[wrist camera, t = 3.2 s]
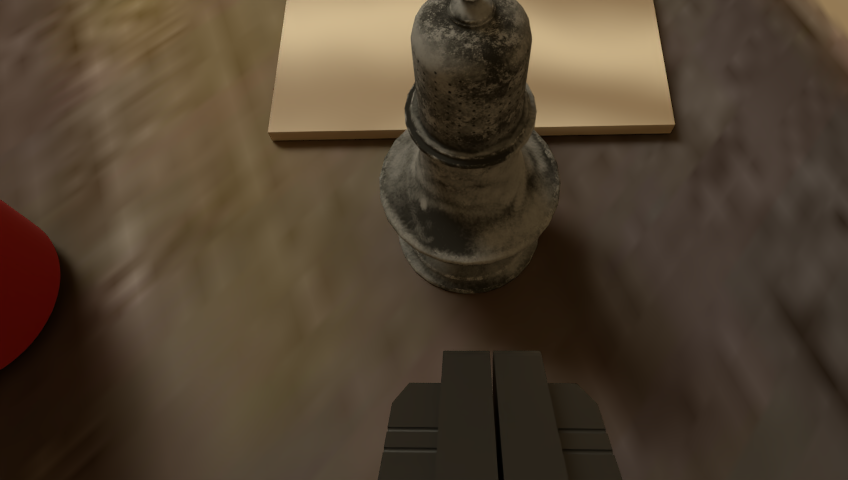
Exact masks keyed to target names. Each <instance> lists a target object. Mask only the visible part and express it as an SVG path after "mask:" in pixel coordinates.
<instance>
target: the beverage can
mask: <svg viewBox="0 0 848 480" xmlns="http://www.w3.org/2000/svg"><path fill="white" fill-rule="evenodd" d="M59 286H60V264H59V259H58V255H57V252H56V250H55V248H54V246H53V244H52V242H51V240H50V239H49V237H48V236H47V235H46V234H45V233H44V232H43V231H42V230H41V229H40V228H39V227H38V226H36V225H35V224H33V223H32V222H31V221H29V220H28V219H26V218H25V217H24V216H22V215H21V214H20V213H18V212H17V211H15V210H14V209H13V208H11V207H10V206H9V205H7V204H6V203H4V202H3V201H2V200H0V370H1V369H2V368H4V367H6V366H7V365H8V364H10V363H11V362H12V361H14V360H15V359H16V358H17V357H18V356H19V355H21V354H22V353H23V352H24V351H25V350H26V349H27V348H28V347H29V345H30V344H31V343H32V342H33V341H34V340H35V338H36V337H37V336H38V335H39V333H40V332H41V330H42V329H43V327H44V326H45V324H46V322H47V321H48V319H49V317H50V315H51V313H52V310H53V308H54V305H55V302H56V299H57V296H58V292H59Z"/></svg>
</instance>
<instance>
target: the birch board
mask: <svg viewBox="0 0 848 480" xmlns="http://www.w3.org/2000/svg"><path fill="white" fill-rule="evenodd" d="M426 1H427V0H287V2H286V9H285V16H284V23H283V30H282V37H281V44H280V51H279V58H278V65H277V72H276V79H275V86H274V93H273V100H272V107H271V114H270V121H269V128H268V133H269V135H270V137H271V139H272V140H327V139H382V138H398V137H399V136H400V135H401V134H402V133H403V132H404V131H405V130H406V129H407V127H406V124H405V110H404V108H405V103H406V99H407V95H408V93H409V91H410V89H411V88H412V86H413V84H414V83H415V76H414V67H413V58H412V49H411V32H412V28H413V24H414V20H415V16H416V14H417V13H418V11H419V9H420V8H421V6H422V5H423V4H424V3H425V2H426ZM517 1H518V2H519V3H520V5H521V6H522V7H523V8H524V10H525V12H526V14H527V16H528V18H529V23H530V28H531V34H532V45H531V53H530V60H529V67H528V74H527V81H526V82H527V84H528V86H529V87H530V89H531V91H532V93H533V95H534V98H535V104H536V110H537V113H536V120H535V127H534V130H535V131H536V132H537V133H538V134H539V135H540V136H547V135H603V134H658V133H671V131H672V129H673V127H674V125H675V122H674V116H673V110H672V105H671V99H670V93H669V88H668V82H667V76H666V71H665V65H664V59H663V54H662V48H661V42H660V37H659V31H658V25H657V20H656V14H655V8H654V3H653V0H517Z"/></svg>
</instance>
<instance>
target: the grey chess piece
mask: <svg viewBox="0 0 848 480" xmlns="http://www.w3.org/2000/svg"><path fill="white" fill-rule="evenodd" d="M531 45H532V34H531V28H530V23H529V18H528V16H527V14H526V12H525V10H524V8H523V7H522V6H521V5H520V3H519V2H518V1H517V0H427V1H426V2H425V3H424V4H423V5H422V6H421V8H420V9H419V11H418V13H417V14H416V16H415V20H414V24H413V28H412V32H411V49H412V58H413V67H414V76H415V83H414V84H413V86H412V88H411V89H410V91H409V93H408V95H407V99H406V103H405V108H404V110H405V124H406V127H407V129H406V130H405V131H404V132H403V133H402V134H401V135H400V136H399V137H398V138H397V139H396V140H395V142H394V143H393V145H392V147H391V148H390V150H389V152H388V153H387V155H386V157H385V159H384V163H383V166H382V170H381V174H380V178H379V179H380V199H381V202H382V205H383V208H384V211H385V214H386V217H387V219H388V221H389V222H390V224H391V225H392V227H393V228H394V229H395V231H396V232H397V233H398V235H399V241H400V244H401V247H402V250H403V253H404V255H405V258H406V259H407V261H408V262H409V263H410V265H411V266H412V268H413V269H414V270H415V272H416V273H418V274H419V275H420V276H421V277H423V278H424V279H425V280H426V281H428V282H429V283H431V284H433V285H435V286H437V287H440V288H442V289H444V290H447V291H452V292H458V293H464V294H469V293H481V292H487V291H490V290H493V289H496V288H498V287H501V286H504V285H505V284H507V283H508V282H510V281H511V280H513V279H514V278H515V277H517V276H518V275H519V274H520V273H521V272H522V271H523V270H524V268H525V267H526V266H527V265H528V264H529V263H530V261H531V258H532V256H533V254H534V252H535V250H536V247H537V244H538V237H539V236H540V235H541V233H542V232H543V231H544V230H545V229H546V228H547V226H548V225H549V223H550V221H551V219H552V217H553V214H554V212H555V210H556V208H557V206H558V200H559V192H560V184H561V183H560V177H559V172H558V166H557V162H556V160H555V158H554V156H553V154H552V152H551V150H550V148H549V146H548V144H547V143H546V142H545V141H544V140H543V139H542V138H541V136H540V135H539V134H538V133H537V132H536V131H535V130H534V127H535V120H536V113H537V110H536V104H535V98H534V95H533V93H532V91H531V89H530V87H529V86H528V84H527V82H526V81H527V74H528V67H529V60H530V53H531Z"/></svg>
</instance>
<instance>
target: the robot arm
mask: <svg viewBox="0 0 848 480" xmlns="http://www.w3.org/2000/svg"><path fill="white" fill-rule="evenodd" d="M378 480H622V477H621V474H620V471H619V468H618V465H617V462H616V459H615V456H614V455H613V453H612V447H611V444H610V441H609V438H608V435H607V434H606V431H605V426H604V423H603V420H602V417H601V414H600V411H599V408H598V404H597V403H596V402H595V401H594V400H593V399H592V398H591V397H590V396H589V395H588V394H587V393H586V392H585V391H584V390H583V389H582V388H581V387H580V386H579V385H577V384H566V383H547V378H546V374H545V369H544V365H543V360H542V355H541V352H540V351H493V395H492V380H491V365H490V352H489V351H443V363H442V378H441V383H409V384H408V385H407V386H406V387H405V389H404V390H403V391H402V392H401V393H400V394H399V396H398V397H397V398H396V399H395V400H394V401H393V403H392V407H391V412H390V417H389V423H388V432H387V433H386V439H385V444H384V452H383V455H382V460H381V466H380V471H379V476H378Z"/></svg>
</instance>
